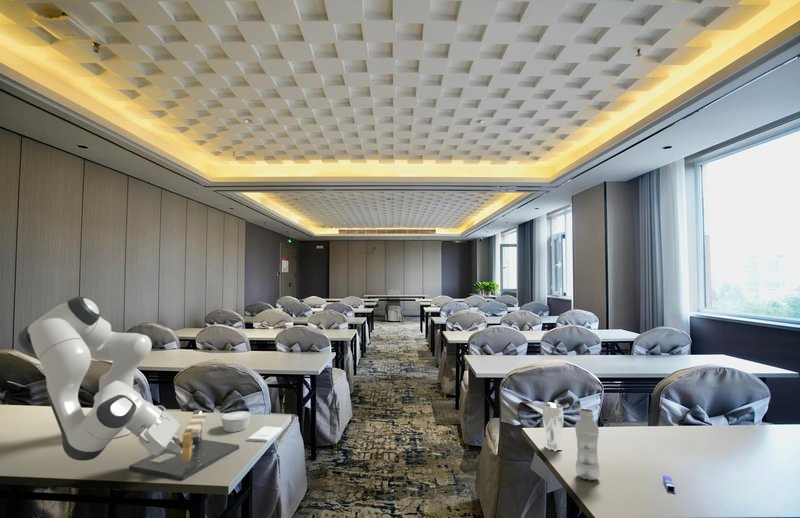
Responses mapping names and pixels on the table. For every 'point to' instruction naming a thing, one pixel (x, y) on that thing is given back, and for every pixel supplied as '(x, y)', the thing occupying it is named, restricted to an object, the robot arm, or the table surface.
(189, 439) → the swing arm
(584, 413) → the plastic bottle
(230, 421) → the ramekin
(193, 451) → the base plate
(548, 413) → the beer glass
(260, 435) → the external hard drive
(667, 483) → the eraser
